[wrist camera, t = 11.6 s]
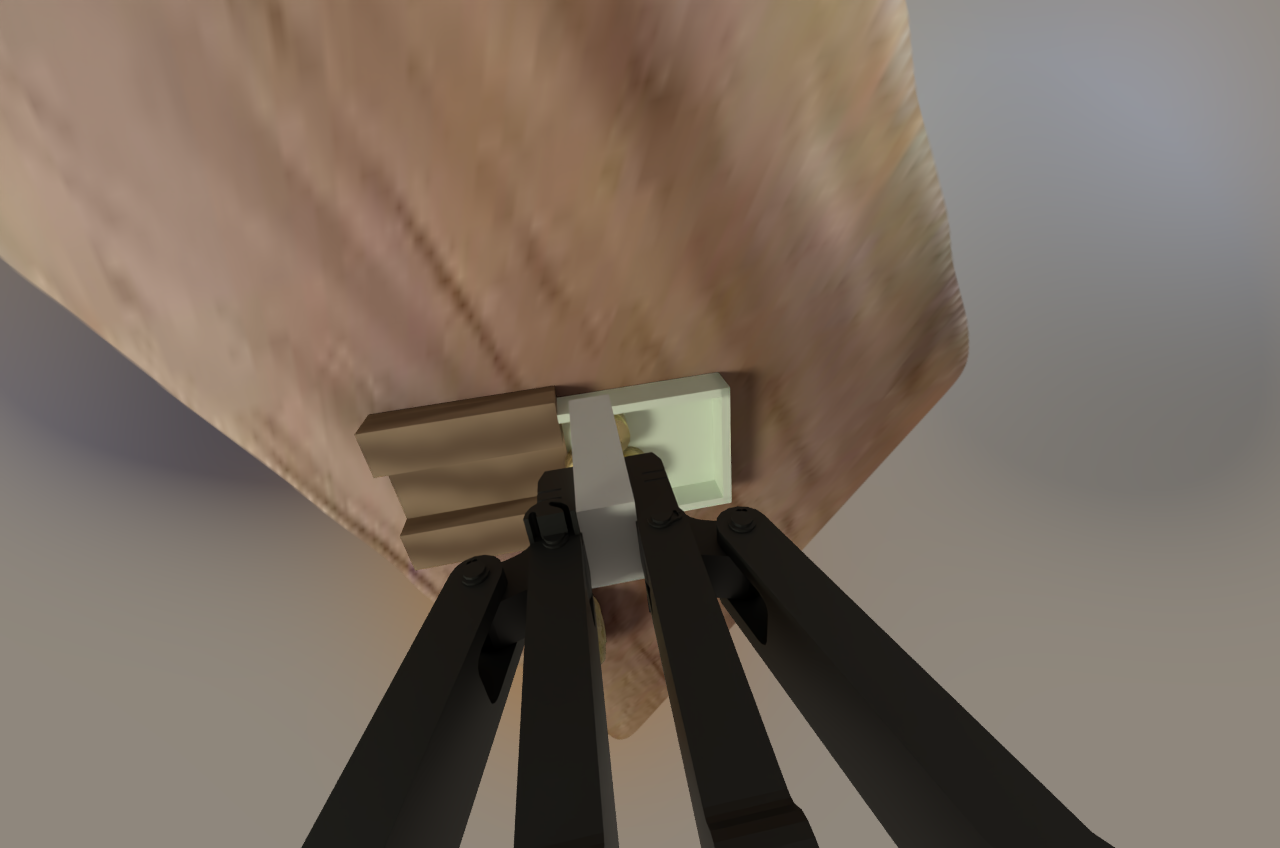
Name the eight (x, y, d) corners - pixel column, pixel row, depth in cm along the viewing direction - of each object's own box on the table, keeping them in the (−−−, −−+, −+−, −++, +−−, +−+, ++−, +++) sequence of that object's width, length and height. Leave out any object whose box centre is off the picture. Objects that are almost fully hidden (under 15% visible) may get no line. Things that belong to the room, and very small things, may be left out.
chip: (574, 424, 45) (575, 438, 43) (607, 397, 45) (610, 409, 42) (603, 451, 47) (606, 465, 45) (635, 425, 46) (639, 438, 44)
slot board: (368, 414, 42) (354, 434, 39) (554, 385, 44) (554, 402, 41) (423, 545, 50) (415, 570, 47) (581, 516, 51) (582, 539, 48)
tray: (556, 397, 44) (556, 415, 41) (718, 372, 46) (730, 387, 43) (579, 507, 50) (580, 529, 47) (720, 482, 52) (731, 502, 49)
